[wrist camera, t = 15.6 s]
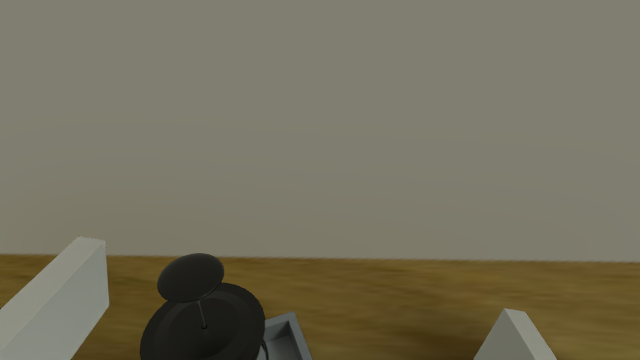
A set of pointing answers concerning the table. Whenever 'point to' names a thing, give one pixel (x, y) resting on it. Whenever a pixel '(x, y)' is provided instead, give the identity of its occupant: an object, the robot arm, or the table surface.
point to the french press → (203, 315)
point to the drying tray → (284, 339)
